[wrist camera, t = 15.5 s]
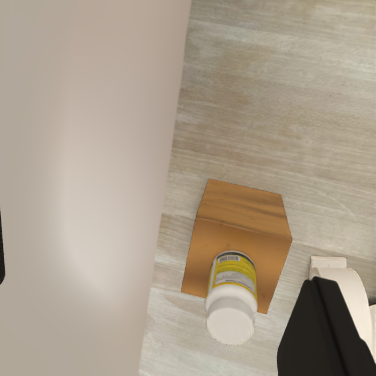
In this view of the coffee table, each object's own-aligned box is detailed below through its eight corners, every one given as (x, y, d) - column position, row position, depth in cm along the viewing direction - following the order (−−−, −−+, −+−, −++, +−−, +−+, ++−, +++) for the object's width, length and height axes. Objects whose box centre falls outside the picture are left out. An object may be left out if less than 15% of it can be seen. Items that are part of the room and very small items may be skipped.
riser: (208, 178, 43) (195, 216, 32) (281, 194, 42) (292, 239, 31) (196, 239, 47) (180, 292, 36) (261, 255, 46) (266, 314, 35)
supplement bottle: (236, 293, 35) (233, 358, 27) (202, 269, 35) (189, 328, 27) (265, 266, 33) (270, 327, 25) (229, 240, 33) (224, 295, 25)
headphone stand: (308, 284, 47) (326, 352, 36) (311, 249, 44) (332, 310, 33) (341, 286, 46) (370, 356, 35) (346, 251, 44) (379, 313, 33)
